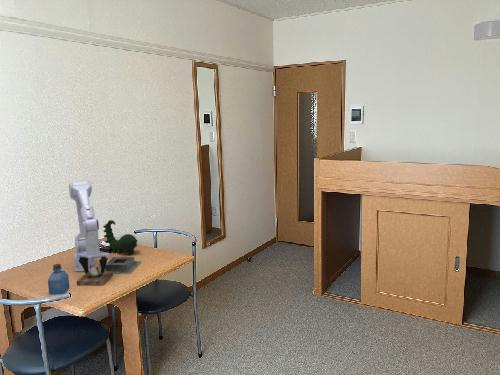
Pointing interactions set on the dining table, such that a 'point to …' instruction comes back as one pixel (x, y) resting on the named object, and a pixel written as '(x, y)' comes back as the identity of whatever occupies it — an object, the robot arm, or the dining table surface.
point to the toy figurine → (123, 243)
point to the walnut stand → (101, 281)
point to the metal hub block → (122, 265)
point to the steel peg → (94, 271)
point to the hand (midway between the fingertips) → (94, 272)
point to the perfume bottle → (58, 281)
